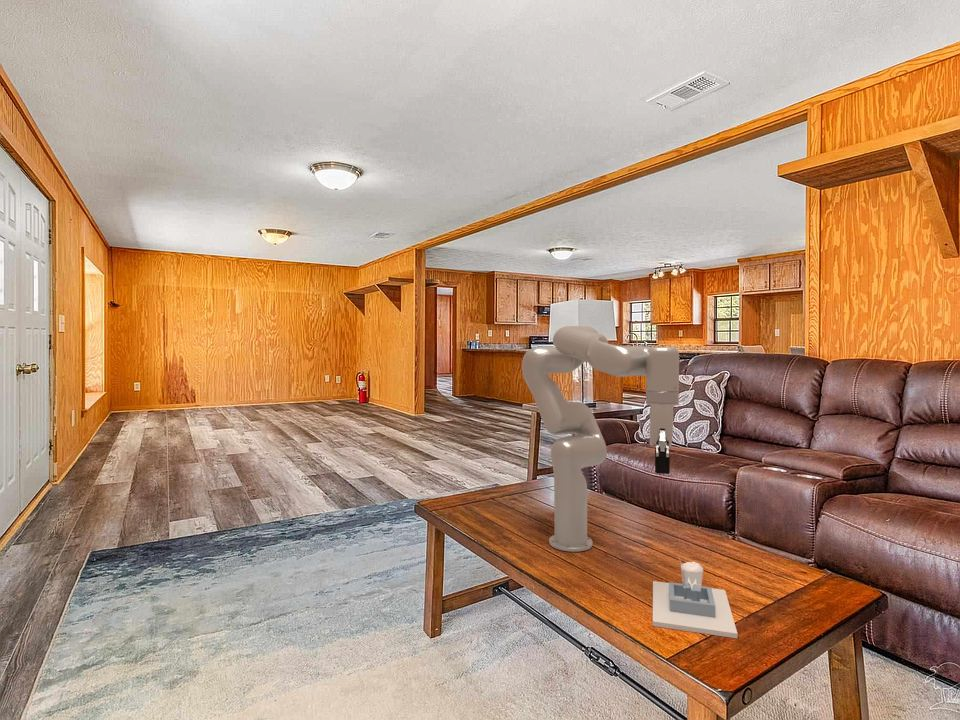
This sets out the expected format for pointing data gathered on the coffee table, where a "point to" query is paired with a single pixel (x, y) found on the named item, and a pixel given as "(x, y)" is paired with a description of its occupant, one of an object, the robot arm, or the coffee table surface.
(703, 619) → the dock
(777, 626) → the coffee table surface
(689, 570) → the milkshake
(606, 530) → the coffee table surface
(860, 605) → the coffee table surface
